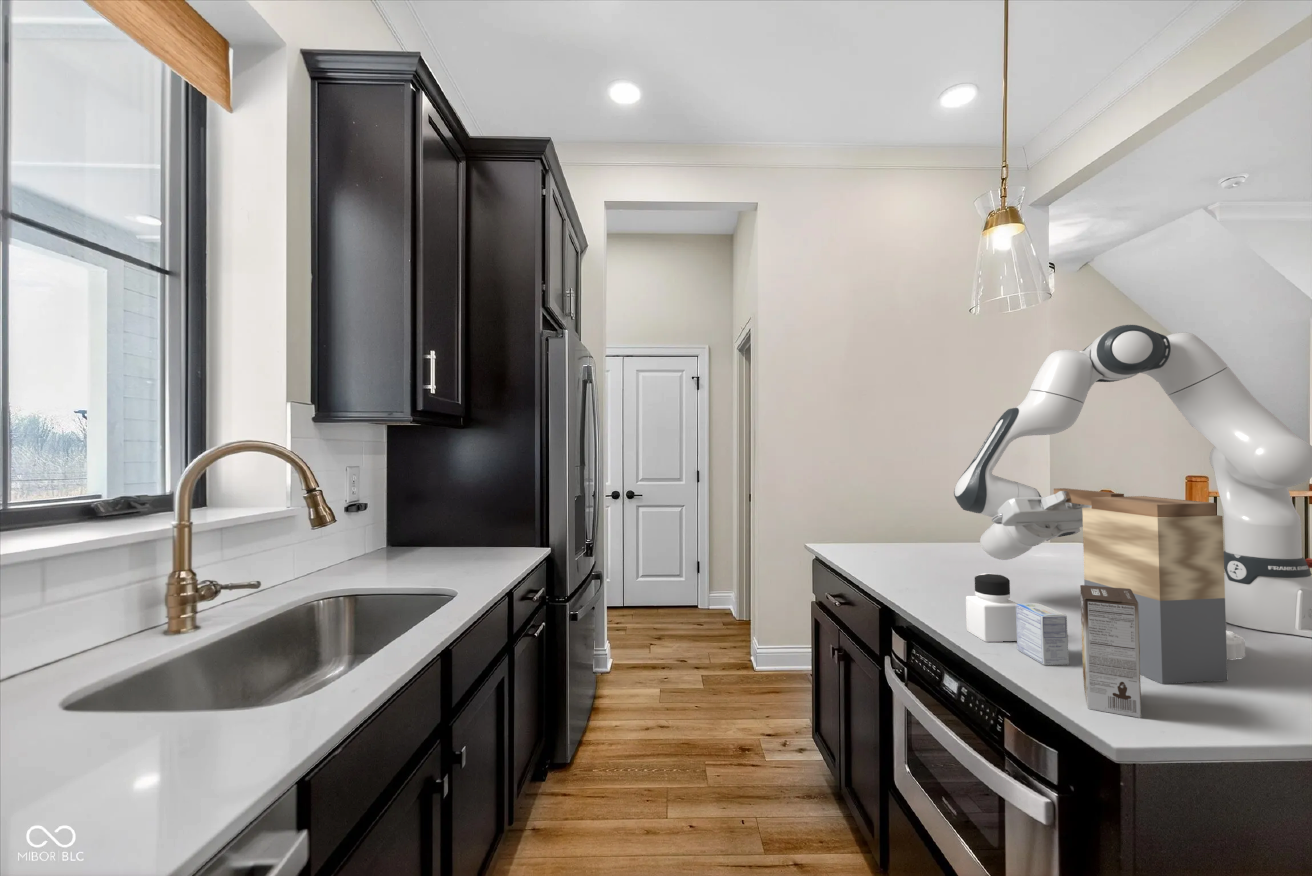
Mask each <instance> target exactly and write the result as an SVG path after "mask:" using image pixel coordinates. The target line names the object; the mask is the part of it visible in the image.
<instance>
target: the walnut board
mask: <svg viewBox="0 0 1312 876" xmlns="http://www.w3.org/2000/svg"><path fill="white" fill-rule="evenodd" d="M1059 491H1068V492H1069V495H1070V496H1071V498H1070V500H1068V501H1066V502H1067V503H1075V504H1083V505H1091V506H1092V509H1098V510H1106V511H1113V512H1121V513H1129V514H1136V515H1144V516H1151V517H1186V516H1216V515H1217V503H1216V502H1209V501H1200V500H1198V501H1197V500H1188V499H1187V500H1186V499H1180V498H1179V499H1177V498H1168V497H1159V496H1158V497H1157V496H1156V497H1155V496H1146V495H1143V496H1142V495H1138V496H1137V495H1136V496H1134V495H1132V496H1129V495H1127V496H1125V493H1121V492H1120V493H1119V492H1118V493H1117V492H1108V491H1097V490H1087V489H1078V488H1077V489H1076V488H1075V489H1074V488H1066V487H1063V488H1060V487H1058V488H1053V495H1054V494H1056V493H1058V492H1059Z"/></svg>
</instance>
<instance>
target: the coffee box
mask: <svg viewBox="0 0 1312 876" xmlns="http://www.w3.org/2000/svg"><path fill="white" fill-rule="evenodd" d="M1080 615H1081V616H1080V617H1081V620H1080V622H1081V648H1082V649H1081V653H1082V654H1081V655H1082V676H1083V677H1082V680H1083V681H1082V682H1083V689H1084V695H1085V702H1086V707H1087V709H1089V710H1093V711H1098V712H1104V713H1110V714H1116V715H1122V716H1126V717H1127V716H1128V717H1131V718H1132V717H1133V718H1138V719H1141V718H1142V700H1141V699H1142V692H1141V691H1142V690H1141V688H1142V687H1141V675H1140V644H1139V603H1138V601H1137V600H1136V598H1135V596H1134V594H1133V592H1132V590H1131V589H1126V588H1112V587H1100V586H1088V585H1084V584H1081V585H1080Z"/></svg>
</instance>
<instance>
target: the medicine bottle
mask: <svg viewBox="0 0 1312 876" xmlns="http://www.w3.org/2000/svg"><path fill="white" fill-rule="evenodd" d="M1010 585H1011V582H1010V579H1009V578H1008V577H1006V576H1004V575H1002V574H998V573H980V574H977V575H975V576H974V595H967V596H965V615H966V617H965V619H966V621H965V622H966V631H967V632H968V633H970V634H971V633H972V635H973V636H975V637H977V638H978V639H980V640H981V641H983V642H985V643H1001V642H1003V641H1017V626H1016V604H1019V603H1017V602H1015V601H1013V600H1010V598H1011V586H1010Z"/></svg>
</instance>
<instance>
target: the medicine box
mask: <svg viewBox="0 0 1312 876" xmlns="http://www.w3.org/2000/svg"><path fill="white" fill-rule="evenodd" d="M1067 617H1068V616H1067V615H1066V614H1065V613H1062V612H1060V611H1058V610H1057V609H1053V608H1051V607H1049V606H1045V605H1043V604H1041V603H1038V602H1037V603H1036V602H1035V603H1034V602H1033V603H1031V602H1029V603H1026V602H1025V603H1018V604H1016V626H1017V642H1016V647H1017V650H1018V651H1019V652H1021V653H1022V654H1024V655H1026V656H1027V657H1030V658H1032V659H1033V660H1035V661H1036V662H1038V663H1040V664H1042V665H1043V666H1068V665H1070V661H1069V638H1068V636H1069V635H1068V619H1067Z"/></svg>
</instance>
